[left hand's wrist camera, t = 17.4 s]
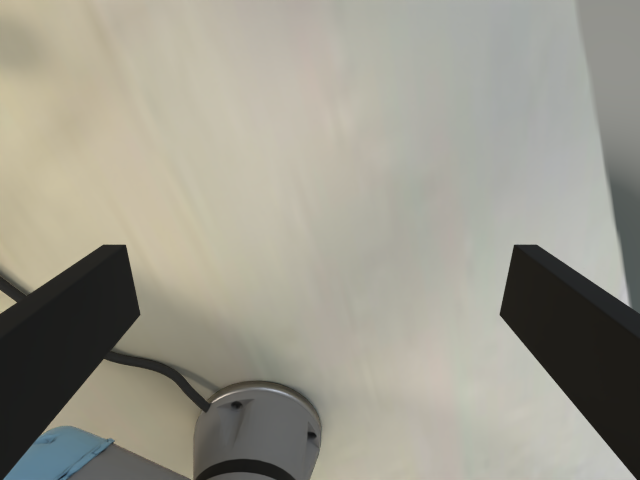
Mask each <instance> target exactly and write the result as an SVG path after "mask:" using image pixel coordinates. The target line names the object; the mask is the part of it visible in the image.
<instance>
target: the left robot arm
mask: <svg viewBox="0 0 640 480" xmlns="http://www.w3.org/2000/svg"><path fill="white" fill-rule="evenodd" d="M0 290H1V291H3V292H4V293H5V294H7V295H8V296H9V297H11V298H12V299H13V300H15V301H16V302H17V303H16V304H14V305H13V306H11V307H10V308H8V309H7V310H5V311H4V312H2V313H1V314H0V480H191V479H189V478H187V477H185V476H183V475H180V474H178V473H176V472H174V471H172V470H170V469H167V468H165V467H163V466H161V465H159V464H157V463H154V462H152V461H150V460H148V459H146V458H144V457H141V456H139V455H137V454H135V453H133V452H131V451H128V450H126V449H124V448H122V447H120V446H118V445H116V444H114V442H115V440H113V439H111V438H109V439H104V438H101V437H99V436H96V435H94V434H91V433H89V432H86V431H84V430H81V429H79V428H76V427H72V426H60V427H56V428H53V429H51V430H49V431H47V432H45V433H44V434H42V432H43V431H44V430H45V429H46V428H47V426H48V425H49V424H50V423H51V422H52V420H53V419H54V418H55V417H56V416H57V414H58V413H59V412H60V411H61V410H62V408H63V407H64V406H65V405H66V404H67V402H68V401H69V400H70V399H71V398H72V396H73V395H74V394H75V393H76V392H77V390H78V389H79V388H80V387H81V386H82V384H83V383H84V382H85V381H86V380H87V378H88V377H89V376H90V375H91V374H92V372H93V371H94V370H95V369H96V368H97V366H98V365H99V364H100V363H101V361H102V360H103V359H106V360H109V361H112V362H115V363H119V364H124V365H129V366H135V367H140V368H145V369H149V370H153V371H156V372H159V373H161V374H163V375H165V376H167V377H169V378H171V379H172V380H173V381H174V382H176V384H177V385H178V386H179V387H180V388H181V389H182V391H183V392H184V393H185V394H186V395H187V396H188V397H189V398H190V399H191V400H192V401H193V402H194V403H195V404H196V405H197V406H199V407H200V408H201V409H202V410H201V412H200V414H199V417H198V420H197V422H196V426H195V432H194V455H193V480H310V477H311V475H312V472H313V469H314V466H315V463H316V461H317V458H318V455H319V451H320V446H321V424H320V419H319V416H318V414H317V412H316V410H315V409H314V407H313V406H312V405H311V404H310V402H309V401H308V400H307V399H305V398H304V397H303V396H302V395H300V394H299V393H297V392H296V391H294V390H292V389H290V388H288V387H285V386H283V385H279V384H276V383H271V382H264V381H249V382H242V383H237V384H233V385H231V386H228V387H226V388H223V389H221V390H220V391H218V392H217V393H215V394H214V395H213V396H212V397H210V398H209V399H208V401H206V400H205V399H204V398H203V397H202V396H200V395H199V394H198V393H197V392H196V391H195V390H194V389H193V388H192V387H191V386H190V384H189V383H188V382H187V381H186V380H185V378H184V377H183V376H182V375H181V374H179V373H178V372H177V371H175V370H174V369H172V368H170V367H168V366H166V365H163V364H161V363H158V362H155V361H151V360H146V359H141V358H136V357H130V356H125V355H121V354H117V353H114V352H111V349H112V348H113V347H114V346H115V345H116V343H117V342H118V341H119V340H120V339H121V337H122V336H123V335H124V334H125V333H126V331H127V330H128V329H129V328H130V327H131V325H132V324H133V323H134V322H135V321H136V319H137V318H138V317H139V316H140V310H139V306H138V301H137V296H136V291H135V286H134V282H133V277H132V272H131V267H130V262H129V257H128V253H127V248H126V245H102V246H101V247H99V248H98V249H96V250H95V251H93V252H92V253H90V254H89V255H87V256H86V257H84V258H83V259H81V260H80V261H78V262H77V263H75V264H74V265H72V266H71V267H69V268H68V269H66V270H65V271H63V272H62V273H60V274H59V275H58V276H56V277H55V278H53V279H52V280H50V281H49V282H47V283H46V284H44V285H43V286H41V287H40V288H38V289H37V290H35V291H34V292H32V293H31V294H29V295H28V296H26V295H24V294H23V293H22V292H20V291H19V290H18V289H16V288H15V287H14V286H12V285H11V284H10V283H8V282H7V281H6V280H4V279H3V278H2V277H1V276H0ZM500 316H501V317H502V318H503V319H504V321H505V322H506V323H507V324H508V325H509V327H510V328H511V329H512V330H513V331H514V333H515V334H516V335H517V336H518V337H519V339H520V340H521V341H522V342H523V343H524V345H525V346H526V347H527V348H528V349H529V351H530V352H531V353H532V354H533V355H534V357H535V358H536V359H537V360H538V361H539V363H540V364H541V365H542V366H543V368H544V369H545V370H546V371H547V372H548V374H549V375H550V376H551V377H552V378H553V380H554V381H555V382H556V383H557V384H558V386H559V387H560V388H561V389H562V390H563V392H564V393H565V394H566V395H567V396H568V398H569V399H570V400H571V401H572V402H573V404H574V405H575V406H576V407H577V408H578V410H579V411H580V412H581V413H582V414H583V416H584V417H585V418H586V419H587V420H588V422H589V423H590V424H591V425H592V426H593V428H594V429H595V430H596V431H597V432H598V434H599V435H600V436H601V437H602V438H603V440H604V441H605V442H606V443H607V444H608V446H609V447H610V448H611V449H612V450H613V452H614V453H615V454H616V455H617V456H618V458H619V459H620V460H621V461H622V462H623V464H624V465H625V466H626V467H627V468H628V470H629V471H630V472H631V473H632V474H633V476H634V477H635V478H636V479H637V480H640V314H639V313H638V312H636V311H635V310H633V309H632V308H630V307H629V306H627V305H626V304H624V303H623V302H621V301H620V300H618V299H617V298H615V297H614V296H612V295H611V294H609V293H608V292H606V291H605V290H603V289H602V288H600V287H599V286H597V285H596V284H594V283H593V282H591V281H590V280H588V279H587V278H585V277H584V276H582V275H581V274H580V273H578V272H577V271H575V270H574V269H572V268H571V267H569V266H568V265H566V264H565V263H563V262H562V261H560V260H559V259H557V258H556V257H554V256H553V255H551V254H550V253H548V252H547V251H545V250H544V249H542V248H541V247H539V246H538V245H514V248H513V253H512V257H511V262H510V267H509V272H508V277H507V282H506V286H505V291H504V296H503V301H502V306H501V310H500ZM41 434H42V435H41ZM40 435H41V436H40Z"/></svg>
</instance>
